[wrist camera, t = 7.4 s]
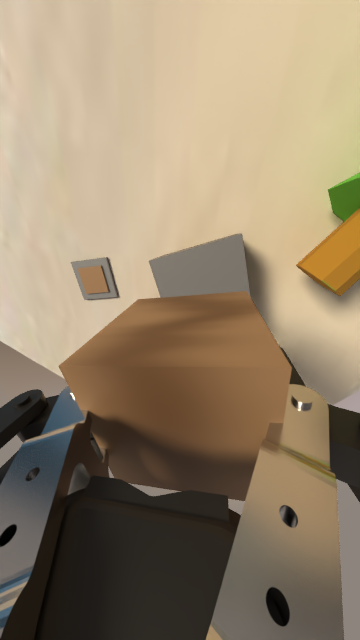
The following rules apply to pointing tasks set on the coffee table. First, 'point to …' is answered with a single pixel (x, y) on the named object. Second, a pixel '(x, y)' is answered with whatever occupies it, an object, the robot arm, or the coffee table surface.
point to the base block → (203, 269)
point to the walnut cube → (183, 391)
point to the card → (95, 278)
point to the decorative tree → (339, 242)
